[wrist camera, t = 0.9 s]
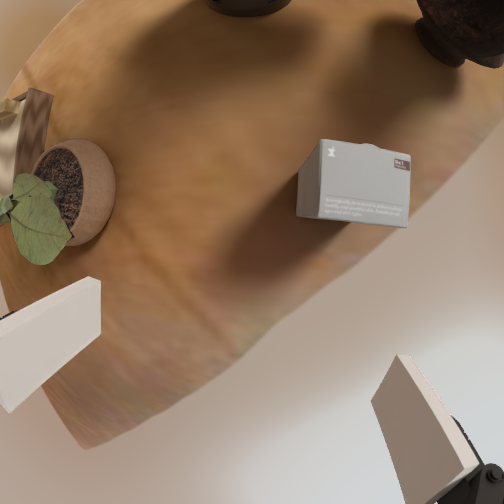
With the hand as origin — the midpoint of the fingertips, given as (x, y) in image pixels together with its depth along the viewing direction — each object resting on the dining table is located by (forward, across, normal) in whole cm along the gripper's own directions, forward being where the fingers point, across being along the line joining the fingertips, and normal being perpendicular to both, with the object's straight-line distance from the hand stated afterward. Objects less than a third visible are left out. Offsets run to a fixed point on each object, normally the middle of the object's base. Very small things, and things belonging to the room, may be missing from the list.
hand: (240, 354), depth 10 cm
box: (+27, -51, +7) cm, 58 cm away
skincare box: (+27, +6, +8) cm, 29 cm away
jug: (+27, +22, +42) cm, 55 cm away
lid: (+21, -51, +7) cm, 56 cm away
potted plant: (+27, -29, 0) cm, 39 cm away
